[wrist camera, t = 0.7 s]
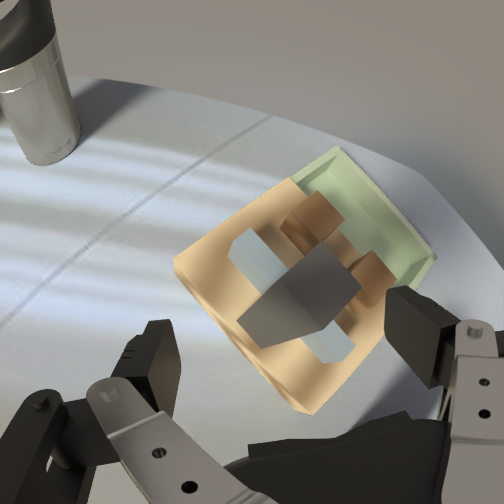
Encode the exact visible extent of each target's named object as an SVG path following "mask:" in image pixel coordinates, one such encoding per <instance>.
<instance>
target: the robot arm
mask: <svg viewBox="0 0 504 504" xmlns="http://www.w3.org/2000/svg"><path fill="white" fill-rule="evenodd" d="M2 1H4V0H0V2H2ZM0 108H1V110H2V112H3V114H4V116H5V118H6V120H7V122H8V124H9V126H10V128H11V130H12V132H13V134H14V136H15V138H16V140H17V142H18V143H19V145H20V147H21V149H22V151H23V153H24V154H25V156H26V158H27V159H28V160H29V162H31V163H33V164H35V165H49V164H52V163H55V162H57V161H59V160H61V159H63V158H64V157H65V156H67V155H68V154H69V153H70V152H71V151H72V150H73V149H74V148H75V146H76V145H77V143H78V141H79V139H80V135H81V128H80V124H79V121H78V118H77V114H76V111H75V107H74V103H73V99H72V96H71V92H70V88H69V84H68V81H67V77H66V73H65V68H64V64H63V60H62V56H61V51H60V47H59V42H58V38H57V33H56V28H55V23H54V18H53V13H52V8H51V2H50V0H19V2H18V3H17V4H16V6H15V7H14V8H13V9H12V10H11V11H10V12H9V13H8V14H7V15H6V16H5V17H4V18H3V19H1V20H0ZM384 333H385V336H386V339H387V341H388V342H389V343H390V344H391V345H392V347H393V348H394V349H395V350H396V351H397V352H398V354H399V355H400V356H401V357H402V358H403V359H404V361H405V362H406V363H407V364H408V365H409V366H410V368H411V369H412V370H413V371H414V372H415V373H416V375H417V376H418V377H419V378H420V379H421V381H422V382H423V383H424V384H425V385H426V387H427V388H428V389H431V388H434V387H436V386H439V385H443V389H442V392H441V397H440V403H439V409H438V415H437V420H432V419H415V420H412V419H411V418H410V416H409V415H408V413H407V412H406V410H405V411H402V412H399V413H396V414H393V415H389V416H386V417H383V418H379V419H376V420H372V421H370V422H368V423H366V424H364V425H362V426H360V427H358V428H355V429H353V430H351V431H349V432H347V433H345V434H343V435H341V436H338V437H336V438H329V439H285V440H279V441H272V442H265V443H257V444H249V445H248V453H249V456H247V457H244V458H241V459H239V460H236V461H234V462H231V463H230V464H228V465H226V466H224V467H222V466H221V465H220V464H219V463H218V462H216V461H215V460H214V459H213V458H212V457H211V456H210V455H209V454H208V453H206V452H205V451H204V450H203V449H202V448H201V447H200V446H199V445H198V444H197V443H196V442H195V441H194V440H193V439H192V438H191V437H189V436H188V435H187V434H186V433H185V432H184V431H183V430H182V429H181V428H180V427H179V426H178V425H177V424H176V423H175V422H174V421H173V420H172V416H173V411H174V406H175V400H176V395H177V390H178V385H179V380H180V375H181V361H180V355H179V351H178V347H177V343H176V339H175V335H174V331H173V327H172V323H171V321H170V320H169V319H165V320H154V321H149V322H148V324H147V326H146V328H145V330H144V332H143V334H142V335H136V336H135V337H134V338H133V339H131V340H130V341H129V342H128V343H127V345H126V347H125V349H124V352H123V353H122V355H121V357H120V359H119V361H118V363H117V365H116V367H115V369H114V370H113V372H112V374H111V376H110V377H109V378H105V379H102V380H100V381H98V382H96V383H94V384H93V385H92V386H91V387H90V388H89V389H88V391H87V393H86V398H84V399H80V400H74V401H69V402H64V401H63V399H62V397H61V395H60V393H59V392H57V391H56V390H52V389H44V390H40V391H37V392H34V393H32V394H31V395H29V396H28V397H27V398H26V399H25V400H24V401H23V403H22V405H21V406H20V408H19V409H18V411H17V412H16V414H15V416H14V417H13V419H12V420H11V422H10V424H9V425H8V427H7V429H6V430H5V432H4V434H3V435H2V437H1V439H0V504H87V502H88V498H89V494H90V490H91V486H92V482H93V478H94V474H95V471H96V467H97V466H98V465H104V464H110V463H115V462H120V463H121V464H122V466H123V467H124V469H125V471H126V472H127V474H128V475H129V477H130V478H131V480H132V481H133V482H134V484H135V485H136V487H137V488H138V490H139V491H140V492H141V494H142V495H143V497H144V498H145V499H146V501H147V502H148V504H504V330H503V331H494V329H493V327H492V326H491V325H490V324H488V323H486V322H484V321H481V320H474V319H470V320H464V321H461V320H459V319H458V318H457V317H455V316H454V315H453V314H451V313H450V312H448V311H447V310H444V308H443V307H442V306H440V305H438V304H437V303H436V302H435V301H433V300H432V299H430V298H428V297H425V296H422V295H420V294H418V293H417V292H416V291H414V290H413V289H411V288H410V287H408V286H407V285H404V286H398V287H393V288H389V289H387V291H386V296H385V315H384ZM50 455H51V456H52V458H53V459H52V462H51V464H50V467H49V469H48V472H47V471H46V466H47V462H48V460H49V457H50Z"/></svg>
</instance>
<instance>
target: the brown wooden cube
mask: <svg viewBox="0 0 504 504" xmlns="http://www.w3.org/2000/svg"><path fill="white" fill-rule="evenodd" d="M347 270H348V271H349V272H350V273H351V274H352V275H353V277H354V278H355V279H356V280H357V281H358V282H359V283H360V285H361V286H362V289H361V290H360V291H359V292H358V293H357V294H356V295H355V296H354V298H353V299H352V300H351V301H350V302H349V303H348V304H347V305H348V306H349V307H350V308H351V309H352V310H353V312H354V313H355V314H357V313H360V312H363V311H365V310H368V309H370V308H373V307H375V306H377V304H378V303H379V302H380V301H381V300H382V298H383V297H384V296H385V295H386V291H387V289H389V288H391V287H392V286H393V285H394V283H395V282H396V281H397V278H396V277H395V276H394V275H393V273H392V272H391V271H390V270H389V269H388V267H387V266H386V265H385V264H384V263H383V262H382V260H381V259H380V258H379V257H378V256H377V255H376V253H375V252H374V251H373V250H371V251H369V252H368V253H367V254H365V255H364V256H362V257H361V258H360V259H358V260H357V261H355V262H354V263H353V264H352V265H351V266H350V267H349V268H348V269H347Z"/></svg>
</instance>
